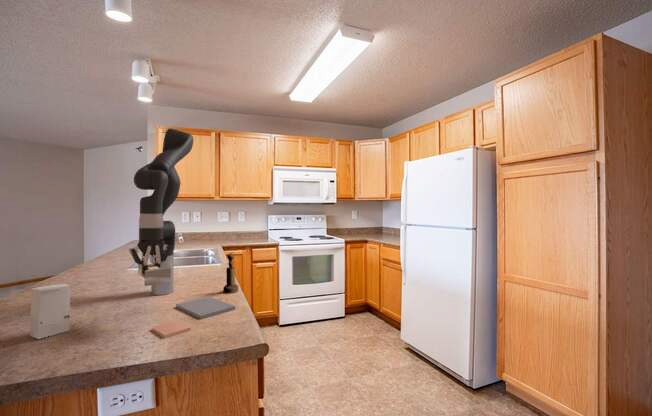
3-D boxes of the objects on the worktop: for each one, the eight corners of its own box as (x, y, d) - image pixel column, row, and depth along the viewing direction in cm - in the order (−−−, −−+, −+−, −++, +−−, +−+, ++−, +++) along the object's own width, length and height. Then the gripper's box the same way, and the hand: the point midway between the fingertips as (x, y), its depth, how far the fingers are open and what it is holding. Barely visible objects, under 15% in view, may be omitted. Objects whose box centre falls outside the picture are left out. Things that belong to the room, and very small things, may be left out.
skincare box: (37, 340, 93) (37, 290, 93) (29, 336, 96) (29, 288, 96) (71, 330, 100) (71, 284, 100) (62, 327, 103) (62, 282, 103)
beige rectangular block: (130, 274, 113) (131, 261, 113) (154, 271, 119) (154, 258, 119) (145, 286, 103) (145, 271, 103) (170, 281, 109) (171, 267, 109)
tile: (151, 326, 101) (164, 335, 94) (176, 320, 107) (190, 327, 100) (151, 331, 101) (164, 340, 94) (176, 324, 107) (190, 331, 100)
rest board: (176, 307, 123) (176, 304, 123) (209, 299, 134) (209, 296, 134) (200, 319, 110) (200, 315, 110) (235, 309, 121) (235, 306, 121)
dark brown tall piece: (232, 288, 151) (232, 251, 151) (240, 291, 147) (240, 252, 147) (220, 291, 146) (220, 253, 146) (228, 294, 142) (228, 254, 142)
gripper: (167, 224, 118) (167, 270, 119) (125, 226, 108) (125, 276, 108) (176, 226, 113) (175, 273, 114) (132, 227, 103) (132, 280, 103)
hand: (150, 274), depth 111 cm, fingers closed on beige rectangular block, 3 cm apart
